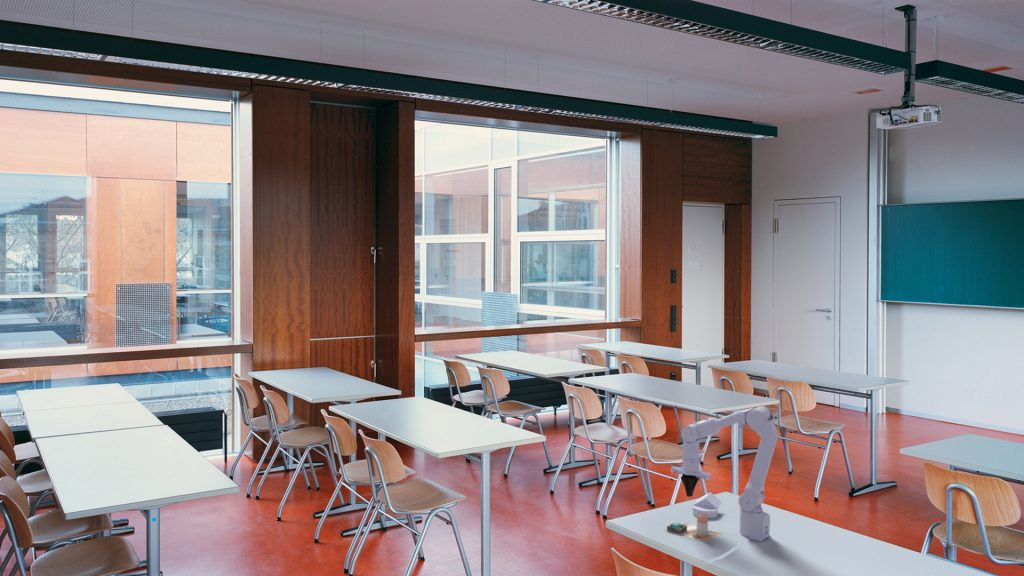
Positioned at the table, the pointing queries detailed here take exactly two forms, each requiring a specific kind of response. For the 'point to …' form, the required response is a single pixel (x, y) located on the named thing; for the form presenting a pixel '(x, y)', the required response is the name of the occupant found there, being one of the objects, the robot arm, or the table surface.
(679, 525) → the button
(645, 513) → the table surface
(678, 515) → the table surface
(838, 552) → the table surface
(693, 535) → the beige base plate
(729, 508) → the table surface
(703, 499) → the wedge on round base
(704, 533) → the capsule peg
